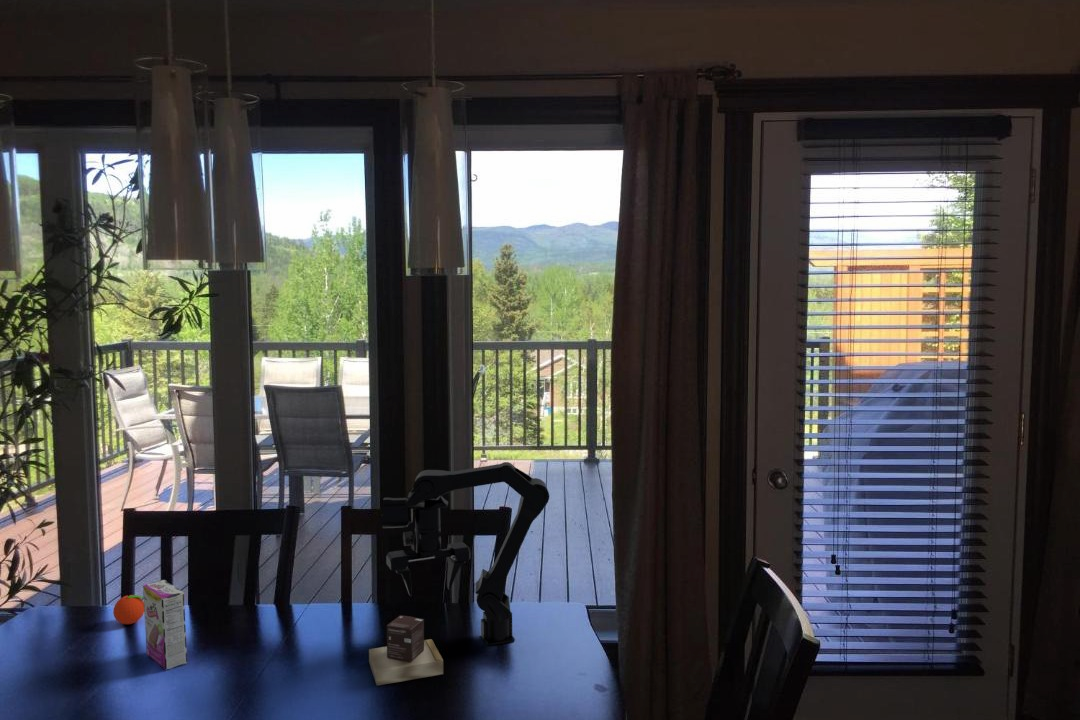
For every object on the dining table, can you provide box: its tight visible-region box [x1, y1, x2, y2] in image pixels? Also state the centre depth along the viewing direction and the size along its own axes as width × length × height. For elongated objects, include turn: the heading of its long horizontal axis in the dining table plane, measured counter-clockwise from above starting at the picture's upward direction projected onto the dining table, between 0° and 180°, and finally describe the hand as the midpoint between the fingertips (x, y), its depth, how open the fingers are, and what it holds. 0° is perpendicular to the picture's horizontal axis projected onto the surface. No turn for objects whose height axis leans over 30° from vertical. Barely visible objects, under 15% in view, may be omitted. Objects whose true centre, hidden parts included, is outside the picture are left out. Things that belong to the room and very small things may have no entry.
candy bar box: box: [142, 579, 188, 671], centre depth 172 cm, size 11×5×16 cm, turn 47°
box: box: [386, 614, 425, 662], centre depth 167 cm, size 6×6×7 cm
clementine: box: [112, 594, 145, 625], centre depth 192 cm, size 8×7×7 cm
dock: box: [368, 638, 444, 686], centre depth 168 cm, size 14×11×3 cm
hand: (429, 592), depth 180 cm, fingers open, 9 cm apart
